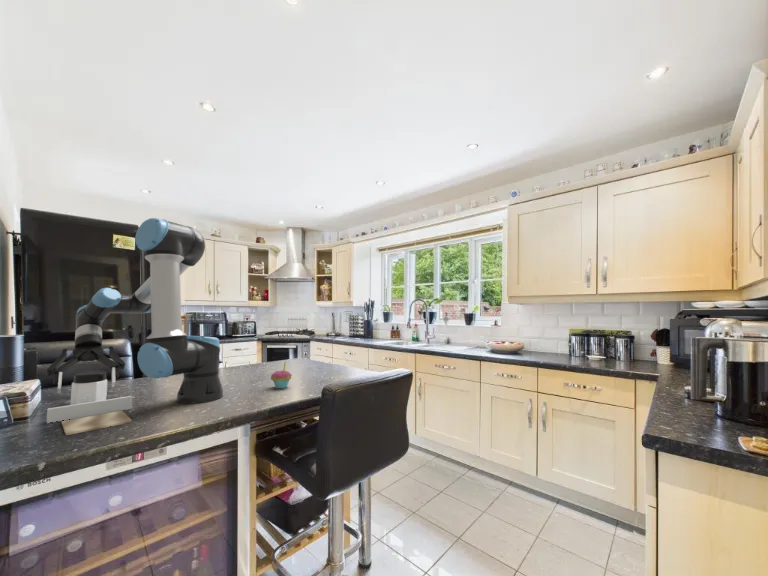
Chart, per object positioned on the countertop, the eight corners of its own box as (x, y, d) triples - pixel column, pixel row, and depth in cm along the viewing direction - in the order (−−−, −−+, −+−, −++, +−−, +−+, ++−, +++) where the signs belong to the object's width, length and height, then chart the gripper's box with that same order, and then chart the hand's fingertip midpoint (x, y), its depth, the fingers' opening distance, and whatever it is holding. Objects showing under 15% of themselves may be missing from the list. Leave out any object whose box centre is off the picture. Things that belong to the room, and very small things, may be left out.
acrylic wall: (130, 407, 112) (131, 395, 112) (131, 408, 111) (132, 396, 111) (46, 422, 97) (47, 408, 97) (46, 423, 96) (47, 409, 96)
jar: (66, 415, 104) (69, 376, 105) (72, 408, 110) (75, 372, 111) (103, 410, 109) (106, 373, 109) (107, 404, 115) (109, 369, 116)
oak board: (122, 412, 106) (122, 410, 106) (131, 422, 97) (131, 420, 97) (61, 423, 96) (61, 421, 96) (65, 435, 87) (66, 433, 87)
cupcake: (294, 385, 146) (294, 357, 147) (286, 390, 137) (287, 360, 138) (275, 385, 147) (276, 357, 147) (266, 389, 138) (267, 360, 139)
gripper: (129, 344, 133) (132, 388, 121) (40, 348, 116) (33, 401, 104) (132, 331, 130) (135, 375, 118) (40, 334, 112) (33, 386, 100)
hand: (87, 387), depth 111 cm, fingers open, 13 cm apart
